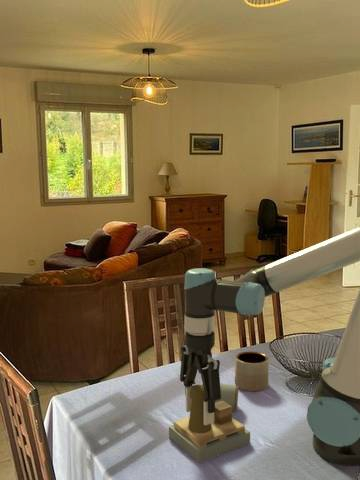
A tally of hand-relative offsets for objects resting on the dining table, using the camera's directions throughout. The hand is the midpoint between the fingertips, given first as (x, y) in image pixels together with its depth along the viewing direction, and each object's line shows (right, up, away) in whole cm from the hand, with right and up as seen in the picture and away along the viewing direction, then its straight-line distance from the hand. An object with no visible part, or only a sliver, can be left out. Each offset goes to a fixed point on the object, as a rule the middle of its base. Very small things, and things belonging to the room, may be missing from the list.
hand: (199, 416), depth 129 cm
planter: (+18, -2, +35) cm, 40 cm away
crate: (+6, -2, +4) cm, 8 cm away
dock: (+3, -7, +3) cm, 8 cm away
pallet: (+3, -4, +2) cm, 5 cm away
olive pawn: (0, -3, 0) cm, 3 cm away
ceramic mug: (+8, -5, +21) cm, 23 cm away
